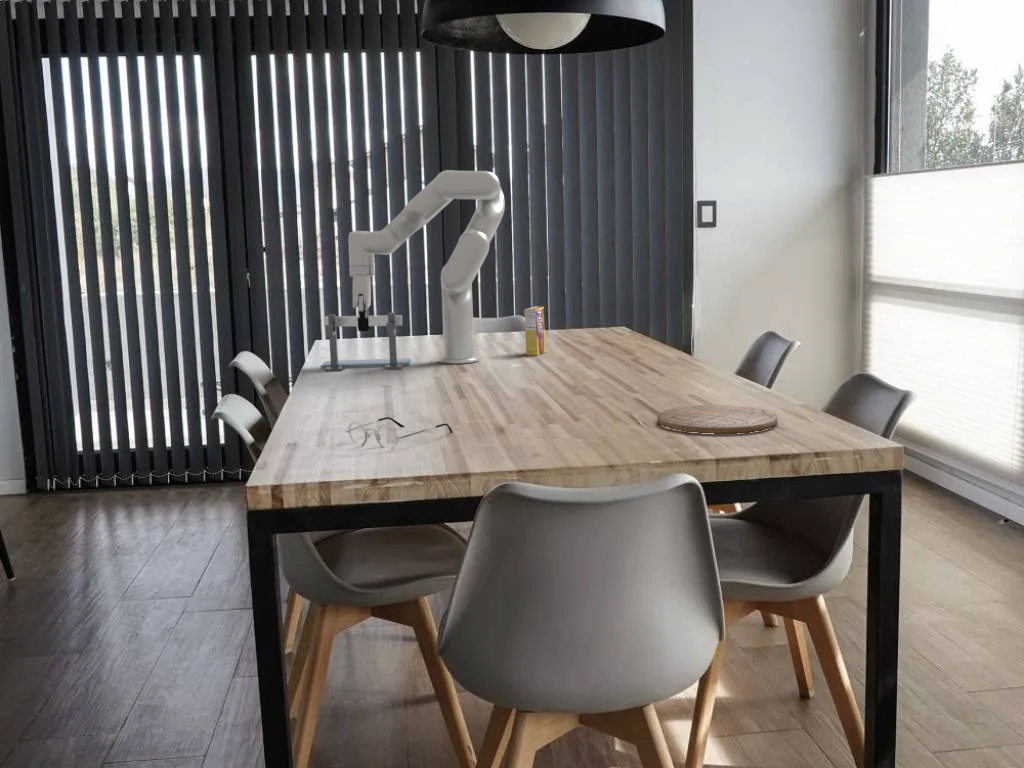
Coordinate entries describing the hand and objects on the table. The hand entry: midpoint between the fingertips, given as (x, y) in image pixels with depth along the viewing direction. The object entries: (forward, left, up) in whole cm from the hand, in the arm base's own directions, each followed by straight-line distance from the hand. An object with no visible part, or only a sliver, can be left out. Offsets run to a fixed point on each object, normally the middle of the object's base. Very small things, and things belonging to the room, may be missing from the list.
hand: (363, 330), depth 319 cm
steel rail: (0, 0, +1) cm, 1 cm away
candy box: (-13, +54, -11) cm, 57 cm away
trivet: (+108, +85, -12) cm, 138 cm away
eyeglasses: (+112, +18, -12) cm, 114 cm away
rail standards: (+10, 0, -11) cm, 15 cm away
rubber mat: (0, 0, -11) cm, 11 cm away
